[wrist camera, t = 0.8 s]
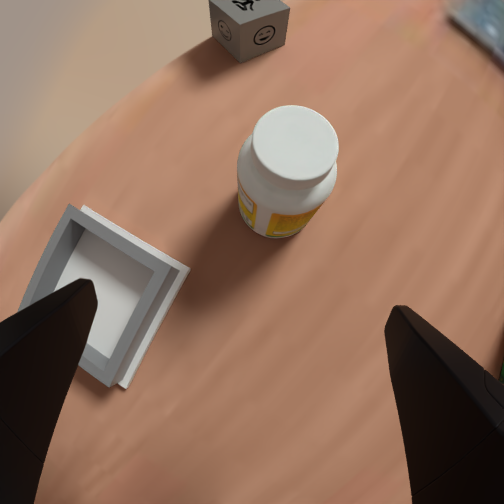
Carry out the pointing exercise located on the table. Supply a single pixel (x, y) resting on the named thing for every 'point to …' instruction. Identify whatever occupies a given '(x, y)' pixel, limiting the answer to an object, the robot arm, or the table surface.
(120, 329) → the tray
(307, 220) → the supplement bottle
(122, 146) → the table surface
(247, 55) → the dice cube
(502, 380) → the crayon box
